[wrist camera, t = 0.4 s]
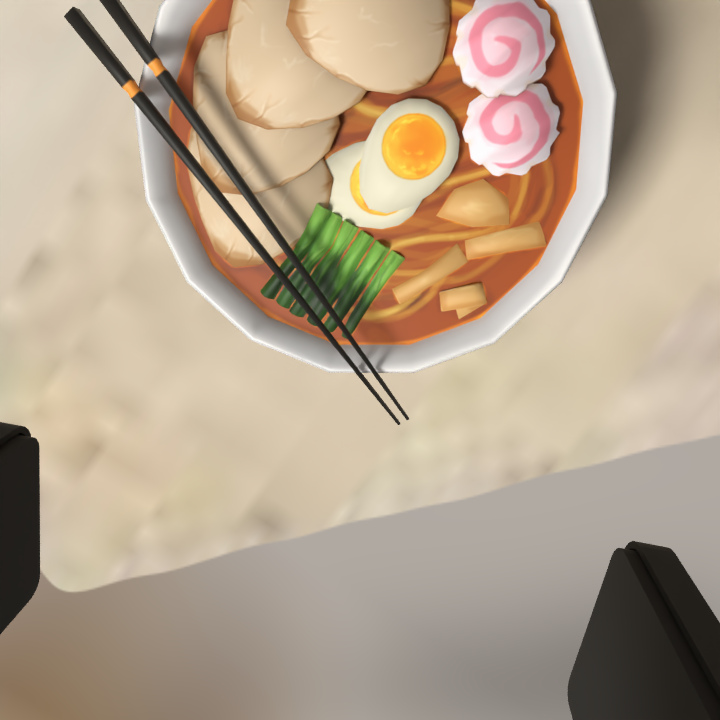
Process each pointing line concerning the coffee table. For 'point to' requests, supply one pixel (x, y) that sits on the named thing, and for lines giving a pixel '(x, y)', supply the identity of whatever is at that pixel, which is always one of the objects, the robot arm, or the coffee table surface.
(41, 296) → the coffee table surface
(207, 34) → the ramen bowl
